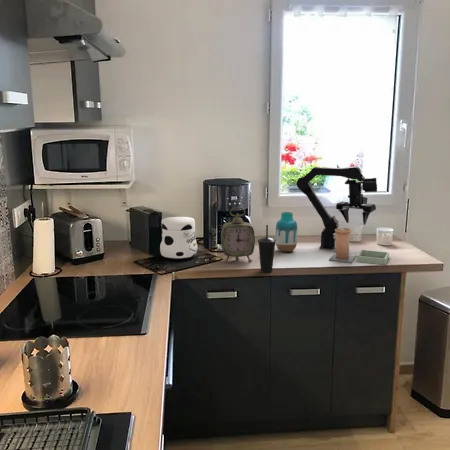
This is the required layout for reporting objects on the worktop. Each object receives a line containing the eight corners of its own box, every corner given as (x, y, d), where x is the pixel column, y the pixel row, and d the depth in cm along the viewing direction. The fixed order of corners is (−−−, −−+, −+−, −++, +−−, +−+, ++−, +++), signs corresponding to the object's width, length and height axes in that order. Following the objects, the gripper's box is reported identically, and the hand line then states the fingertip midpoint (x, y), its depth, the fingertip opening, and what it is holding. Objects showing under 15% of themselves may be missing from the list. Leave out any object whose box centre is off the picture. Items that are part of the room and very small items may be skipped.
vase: (272, 252, 245) (273, 213, 241) (278, 247, 254) (279, 210, 250) (293, 254, 241) (294, 215, 237) (299, 249, 250) (300, 211, 246)
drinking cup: (277, 269, 218) (278, 223, 214) (273, 274, 211) (273, 227, 206) (260, 267, 220) (260, 222, 216) (255, 272, 213) (255, 226, 209)
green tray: (356, 261, 229) (356, 256, 229) (361, 254, 240) (361, 249, 240) (385, 264, 224) (385, 259, 224) (388, 257, 235) (389, 252, 235)
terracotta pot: (333, 258, 231) (333, 230, 229) (335, 254, 238) (336, 227, 235) (348, 259, 229) (349, 231, 226) (351, 256, 235) (351, 228, 232)
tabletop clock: (222, 264, 225) (222, 209, 220) (220, 259, 234) (220, 205, 229) (254, 263, 226) (255, 208, 221) (252, 258, 235) (252, 205, 230)
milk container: (202, 259, 233) (202, 221, 229) (166, 264, 226) (165, 224, 223) (190, 251, 249) (189, 215, 245) (156, 254, 242) (154, 217, 238)
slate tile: (329, 260, 230) (329, 259, 230) (333, 255, 239) (333, 253, 239) (351, 263, 226) (351, 261, 226) (355, 257, 235) (355, 256, 235)
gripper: (380, 190, 244) (381, 221, 248) (346, 188, 257) (347, 218, 261) (369, 195, 237) (370, 227, 241) (334, 192, 249) (336, 223, 253)
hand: (356, 223), depth 249 cm, fingers open, 9 cm apart
